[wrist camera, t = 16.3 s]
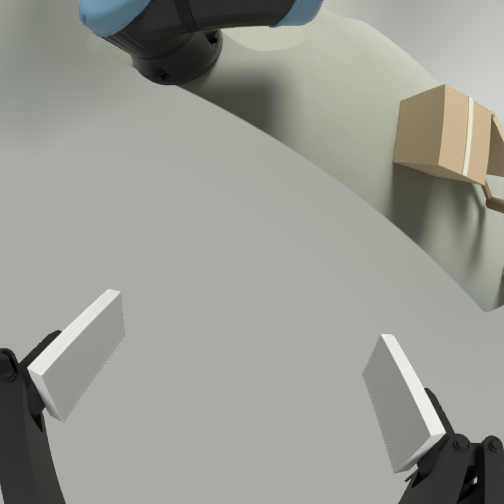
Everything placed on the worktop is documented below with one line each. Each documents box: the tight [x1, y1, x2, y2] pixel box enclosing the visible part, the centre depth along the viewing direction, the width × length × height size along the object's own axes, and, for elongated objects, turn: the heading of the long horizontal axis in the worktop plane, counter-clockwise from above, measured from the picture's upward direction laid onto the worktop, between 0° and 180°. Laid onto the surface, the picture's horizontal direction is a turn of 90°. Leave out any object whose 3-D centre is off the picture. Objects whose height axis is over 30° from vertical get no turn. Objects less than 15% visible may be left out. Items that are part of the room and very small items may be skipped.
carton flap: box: [481, 111, 504, 213], centre depth 31 cm, size 19×2×14 cm, turn 40°
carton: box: [393, 84, 491, 186], centre depth 31 cm, size 11×9×14 cm
